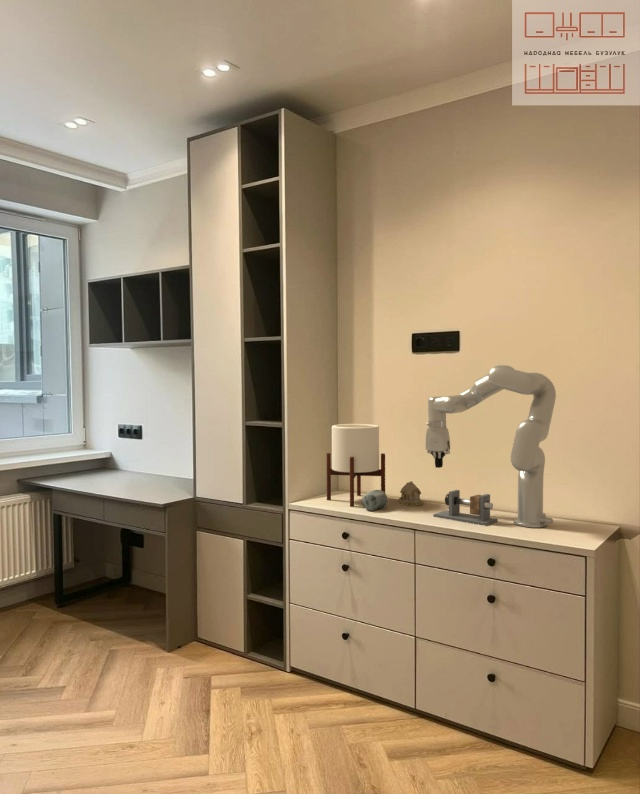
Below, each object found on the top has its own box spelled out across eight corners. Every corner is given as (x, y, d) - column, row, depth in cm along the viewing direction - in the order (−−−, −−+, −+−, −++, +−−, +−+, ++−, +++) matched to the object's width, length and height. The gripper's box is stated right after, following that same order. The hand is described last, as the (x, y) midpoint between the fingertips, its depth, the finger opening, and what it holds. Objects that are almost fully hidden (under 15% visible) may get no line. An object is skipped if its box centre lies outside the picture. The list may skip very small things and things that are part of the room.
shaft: (494, 511, 249) (494, 498, 249) (488, 513, 245) (488, 500, 245) (451, 504, 263) (451, 492, 263) (444, 506, 259) (444, 494, 259)
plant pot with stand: (359, 494, 310) (359, 423, 309) (389, 501, 292) (388, 426, 291) (322, 499, 298) (322, 425, 296) (351, 507, 279) (350, 428, 278)
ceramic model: (394, 500, 295) (394, 479, 294) (415, 499, 298) (415, 478, 297) (406, 506, 281) (406, 484, 281) (429, 505, 284) (429, 483, 284)
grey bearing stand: (497, 521, 251) (497, 494, 251) (485, 525, 244) (485, 497, 243) (446, 512, 268) (446, 487, 267) (433, 516, 260) (433, 490, 260)
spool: (376, 505, 267) (371, 484, 271) (360, 513, 272) (355, 492, 276) (395, 508, 276) (389, 487, 281) (378, 515, 282) (373, 495, 286)
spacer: (486, 512, 252) (487, 495, 252) (478, 515, 248) (478, 497, 247) (477, 511, 255) (478, 494, 255) (469, 513, 250) (469, 496, 250)
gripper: (418, 425, 271) (419, 467, 271) (448, 425, 261) (449, 469, 261) (427, 424, 276) (429, 465, 276) (457, 424, 266) (458, 467, 266)
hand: (439, 467), depth 269 cm, fingers closed
